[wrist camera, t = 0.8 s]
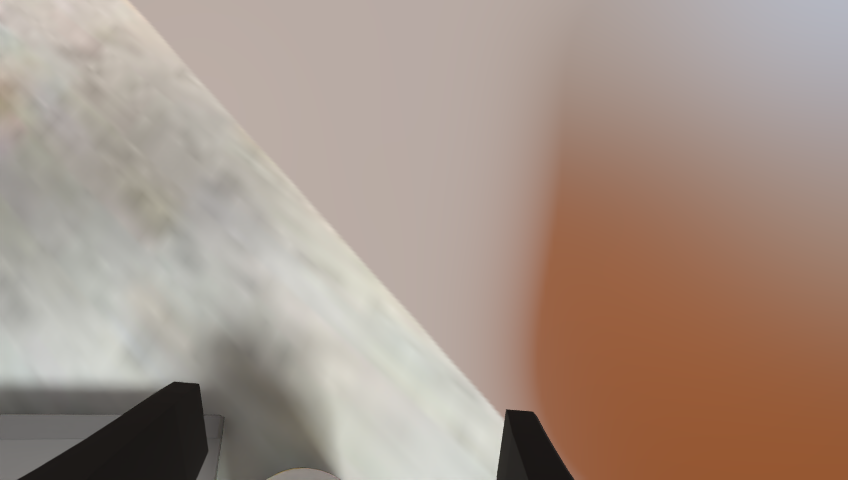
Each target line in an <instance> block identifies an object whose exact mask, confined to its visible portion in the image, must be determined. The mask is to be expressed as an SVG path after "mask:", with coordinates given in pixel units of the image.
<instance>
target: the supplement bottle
mask: <svg viewBox="0 0 848 480" xmlns="http://www.w3.org/2000/svg"><path fill="white" fill-rule="evenodd" d="M267 480H340V479H339V478H337V477H335V476H333V475H332V474H329V473H327V472H324V471H321V470H317V469H311V468H303V467H302V468H293V469H288V470H285V471H282V472H280V473H277V474H275V475H274V476H272V477H270V478H268V479H267Z"/></svg>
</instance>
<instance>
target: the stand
mask: <svg viewBox="0 0 848 480" xmlns="http://www.w3.org/2000/svg"><path fill="white" fill-rule="evenodd" d="M120 416H121V415H71V414H0V480H17V479H19V478H21V477H23V476H24V475H26V474H28V473H30V472H31V471H33V470H35V469H36V468H38V467H40V466H41V465H43V464H45V463H46V462H48V461H50V460H51V459H53V458H55V457H56V456H58V455H60V454H61V453H63V452H65V451H66V450H68V449H70V448H71V447H73V446H75V445H76V444H78V443H80V442H81V441H83V440H84V439H86V438H88V437H89V436H91V435H92V434H94V433H95V432H97V431H98V430H100V429H101V428H103V427H105V426H106V425H108V424H109V423H111V422H112V421H114V420H115V419H117V418H118V417H120ZM204 422H205V429H206V436H207V443H208V450H209V452H208V454H207V456H206V459H205V461H204V463H203V466H202V468H201V470H200V472H199V475H198V477H197V479H196V480H216V475H217V468H218V461H219V454H220V446H221V439H222V432H223V425H224V417H223V416H221V415H204Z"/></svg>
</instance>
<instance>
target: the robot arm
mask: <svg viewBox="0 0 848 480" xmlns="http://www.w3.org/2000/svg"><path fill="white" fill-rule="evenodd" d="M208 452H209V450H208V443H207V436H206V429H205V422H204V415H203V408H202V401H201V393H200V386H199V384H195V383H183V382H173V383H171V384H169V385H168V386H166V387H164V388H163V389H161V390H160V391H158V392H156V393H155V394H153V395H152V396H150V397H149V398H147V399H146V400H144V401H143V402H141V403H140V404H138V405H137V406H135V407H134V408H132V409H131V410H129V411H128V412H126V413H124V414H123V415H121V416H120V417H118V418H117V419H115V420H114V421H112V422H111V423H109V424H108V425H106V426H105V427H103V428H101V429H100V430H98V431H97V432H95V433H94V434H92V435H91V436H89V437H88V438H86V439H84V440H83V441H81V442H80V443H78V444H76V445H75V446H73V447H71V448H70V449H68V450H66V451H65V452H63V453H61V454H60V455H58V456H56V457H55V458H53V459H51V460H50V461H48V462H46V463H45V464H43V465H41V466H40V467H38V468H36V469H35V470H33V471H31V472H30V473H28V474H26V475H24V476H23V477H21V478H19V479H17V480H196V479H197V477H198V475H199V472H200V470H201V468H202V466H203V463H204V461H205V459H206V456H207V454H208ZM497 480H574V478H573V477H572V475H571V474H570V473H569V471H568V470H567V468H566V466H565V465H564V463H563V461H562V460H561V458H560V456H559V455H558V453H557V451H556V450H555V448H554V446H553V445H552V443H551V441H550V440H549V438H548V436H547V434H546V432H545V431H544V429H543V427H542V425H541V423H540V421H539V419H538V417H537V416H536V415H535V414H534V412H530V411H519V410H506V414H505V421H504V428H503V436H502V443H501V450H500V457H499V464H498V471H497Z"/></svg>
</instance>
